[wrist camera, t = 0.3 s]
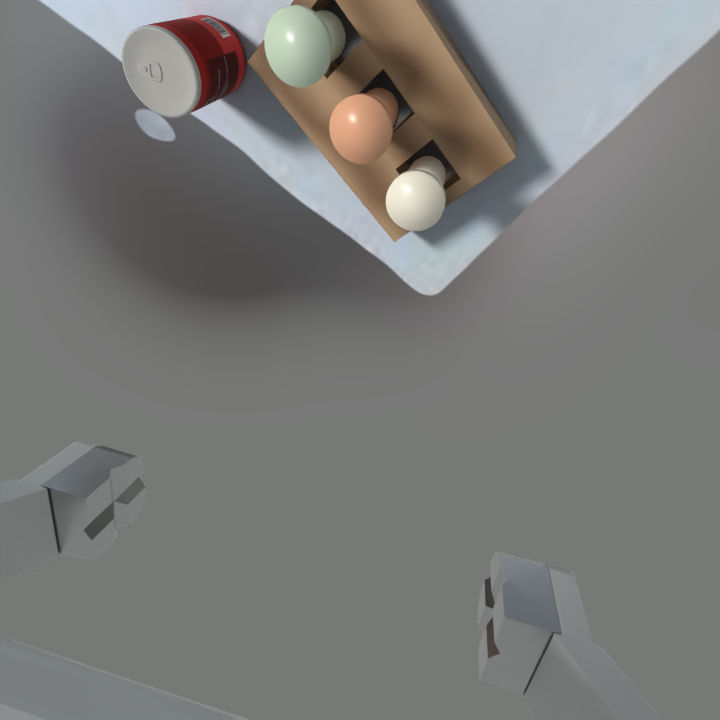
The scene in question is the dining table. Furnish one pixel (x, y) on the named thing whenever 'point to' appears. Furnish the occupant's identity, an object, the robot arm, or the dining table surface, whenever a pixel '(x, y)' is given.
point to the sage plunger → (303, 44)
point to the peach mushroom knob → (364, 125)
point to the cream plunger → (418, 195)
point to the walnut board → (418, 87)
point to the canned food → (183, 64)
